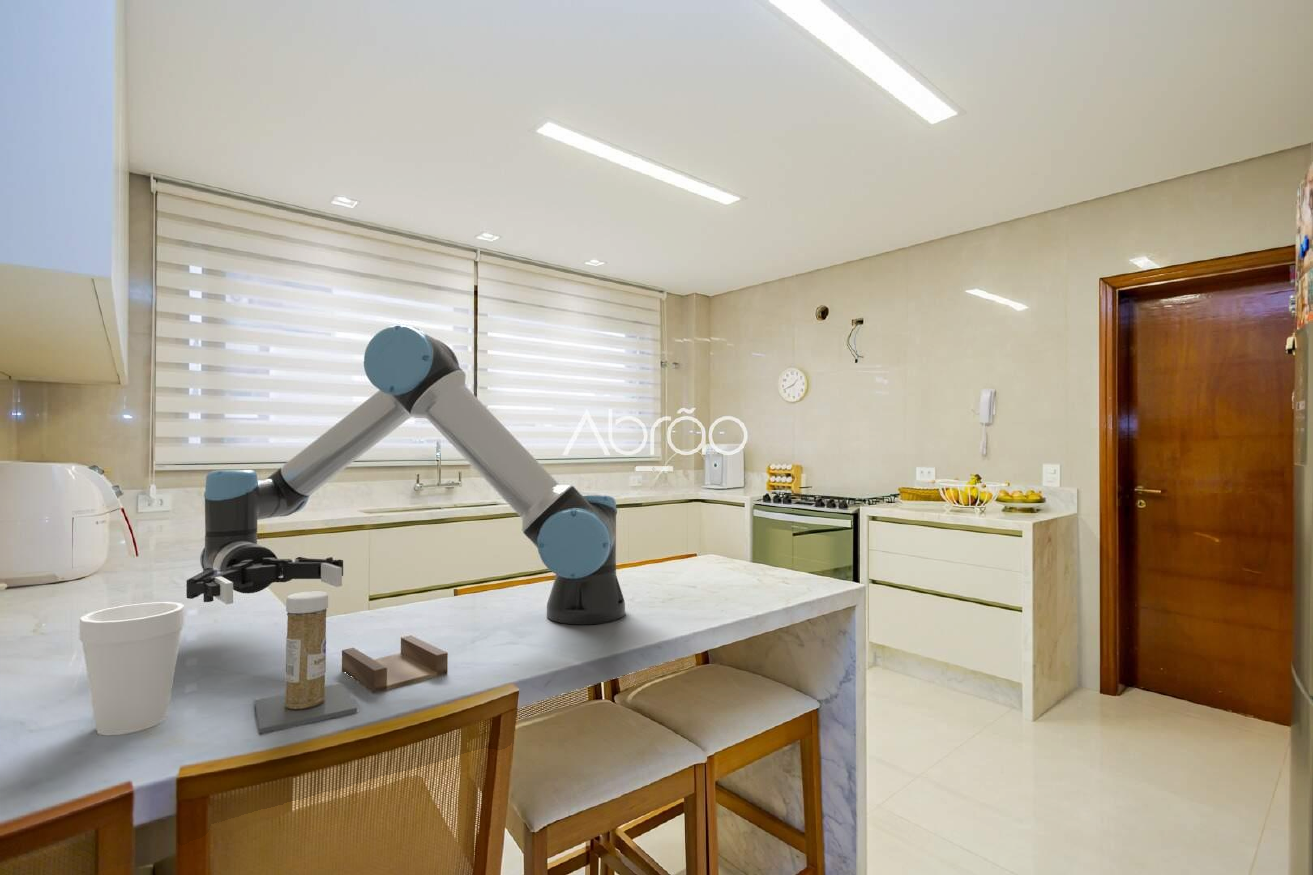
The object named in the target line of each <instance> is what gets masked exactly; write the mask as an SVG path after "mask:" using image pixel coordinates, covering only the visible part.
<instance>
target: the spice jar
mask: <svg viewBox="0 0 1313 875" xmlns="http://www.w3.org/2000/svg"><path fill="white" fill-rule="evenodd" d="M285 604H286V606H285V611H286V616H287V619H286V620H287V621H286V623H287V628H286V629H287V630H286V631H287V632H286V640H285V642H286V643H285V674H284V675H285V676H284V677H285V694H286V699H285V702H284V705H285V706H286V707H287V708H290V709H306V708H310V707H313V706H315V705H318V704H320V703H322V702H323V701H324V700H325V698H326V696H325V693H324V692H325V686H326V684H325V682H326V681H325V680H326V678H325V676H326V675H325V674H326V671H327V670H326V669H327V668H326V662H327V661H326V660H327V658H326V657H327V636H326V632H327V610H328V608H329V594H328V592H325V591H321V590H320V591H319V590H317V591H315V590H313V591H310V590H309V591H302V592H295V593H291V594H290V595H288V596H287V597H286V603H285Z"/></svg>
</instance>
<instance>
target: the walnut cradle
mask: <svg viewBox="0 0 1313 875" xmlns="http://www.w3.org/2000/svg"><path fill="white" fill-rule="evenodd" d="M448 656H449V654H448V652H447V651H444V650H442V649H441V648H438V647H437V646H436V645H432V644H431V643H428V642H426V641H424V640H422V639H419V638H417V637H415V636H413V635H407V636H402V637H400V653H397V654H396V653H395V654H391V655H386V656H384V657H378V658H372V657H370V656H368V655H366V654H365V653H363V652H361V651H360V650H358V649H357V648H355V647H350V648H346V649H342V650H341V671H342V672H343V673H344V672H346V675H347V674H348V675H349V676H348V675H347V676H348V677H350V676H352V677H353V678H354V679H355V680H354V679H353V678H352V679H353V680H354V681H355V682H357V681H358V682H359V683H358V682H357V683H358V684H360V685H362V686H363V687H364V686H365V688H366V689H367V690H368V691H370V690H371V691H370V692H371V693H373V694H374V693H375V694H377V693H381V692H384V691H385V690H386V691H389V690H392V689H396V688H400V686H401V687H403V686H408V685H411V684H414V683H418V682H422V681H427V680H429V679H430V680H431V679H434V678H437V677H441V676H444V675H448V673H449V672H448V669H449V668H448V660H449V659H448ZM388 689H389V690H388ZM386 691H385V692H386Z"/></svg>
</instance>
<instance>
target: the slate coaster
mask: <svg viewBox="0 0 1313 875" xmlns="http://www.w3.org/2000/svg"><path fill="white" fill-rule="evenodd" d="M324 693H325V696H326V698H325V700H324V701H323V702H322V703H320V704H318V705H315V706H313V707H310V708H306V709H290V708H287V707H286V706H285V705H284V702H285V699H286V693H283V694H280V695H279V694H278V695H274V696H273V695H272V696H268V697H263V698H258V699H254V705H255V706H254V707H255V713H256V719H257V724H258V730H259V735H261V734H267V733H270V732H276V731H280V730H286V729H289V728H292V727H293V728H294V727H299V726H303V725H306V724H307V725H308V724H312V723H315V722H316V723H317V722H320V721H321V722H322V721H325V719H326V720H330V719H334V718H339V717H343V716H348V715H353V714H357V713H358V707H357V705H356V704H355V702H354V700H353V697H351V695H350V693H349V691H348V689H347V687H346V686H345V684H344V682H341V683H335V684H330V685H325V692H324Z"/></svg>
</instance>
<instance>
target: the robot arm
mask: <svg viewBox="0 0 1313 875" xmlns="http://www.w3.org/2000/svg"><path fill="white" fill-rule="evenodd" d="M363 367H364V368H363V369H364V372H365V375H366V377H367V379H368V380H369V382H370V383H371V385H373V386H374V387H375V388H376V389H378V391H377V392H375V393H374V394H373V395H371V396H370V397H368V398H367V399H366V400H365V401H363V403H361V404H360V405H359V406H357V407H356V408H355V409H353V410H352V411H350V412H349V413H348V414H347V415H346V416H345V417H344V418H342V419H341V420H339V421H338V423H336V424H334V425H332V427H330V429H328V430H327V431H325V432H324V433H323V434H321V435H320V436H319V437H317V438H316V439H314V441H313V442H311V443H310V444H309V445H308V446H306V447H305V448H304V449H302V450H300V452H298V453H297V454H296V455H295V456H293V457H292V458H291V459H290V460H288V461H287V462H285V463H284V464H283V465H282V466H281V467H279V469H277V470H276V471H274V472H273V473H272V474H271V475H269V476H268V477H266V478H258V475H257V472H256V471H255V470H254V469H226V470H213V471H210V472H208V473H207V475H206V477H205V490H204V494H203V497H204V523H205V524H204V526H205V527H204V532H205V533H204V534H205V535H204V547H203V549H202V551H201V553H200V556H199V561H200V563H199V564H200V565H201V568H202V572H199V573H198V574H196V575H193V576H192V577H190V578H188V579H186V584H185V585H186V592H185V593H186V599H188V600H189V599H191V600H192V599H195V598H198V597H199V596H202V595H203V603H211V602H214V598H216V599H217V600H219V601H221V602H222V603H223V604H225V605H230V604H234V591H235V592H237V593H240V594H256V593H258V592H261V591H264V590H265V589H266V588H268V587H270V585H272V584H273V583H287V582H290V581H292V580H320V581H321V582H322V583H325V584H328V585H330V586H334V587H336V588H338V587H339V588H340V587H342V586H343V576H344V560H343V559H334V557H333V556H332V557H330V556H329V557H327V558H326V559H325V558H306V557H303V556H297V557H296V558H295V559H294V561H293V559H291V558H278V557H277V555H276V554H275V553H274V551H272V550H271V549H269V548H268V547H265V546H263V545H260V544H258V521H260V520H265V519H272V518H276V517H277V518H278V517H287V516H291V515H292V514H295V513H297V512H300V511H301V510H303V509H304V507H305V506H307V503H308V501H309V499H310V496H311V495H313V494H314V493H315V492H316V491H318V490H319V489H320V488H322V487H323V486H325V485H326V484H327V483H328V482H330V481H331V480H332V479H333V478H335V477H336V476H337V475H338V474H340V473H341V472H342V471H343V470H345V469H346V468H347V467H349V466H350V465H351V464H352V463H354V462H355V461H356V460H358V459H359V458H361V456H363V455H364V454H365V453H366V452H368V451H369V450H371V449H372V448H373V447H374V446H376V444H378V443H380V442H381V441H382V440H383V439H384V438H386V437H387V436H389V435H390V434H391V433H392V432H394V431H395V430H396V429H397V428H399V427H400V426H401V425H403V424H404V423H405V422H406V421H408V420H409V419H411V418H412V417H413V418H415V419H426V420H428V421H429V422H430V423H431V425H433V427H435V429H436V430H437V431H438V432H439V433H440V434H441V435H442V436H443V437H444V438H445V439H446V440H447V442H449V443H450V444H451V445H452V446H453V447H454V448H455V450H456V451H457V452H458V453H459V454H460V455H461V456H462V457H463V459H465V460H466V461H467V462H468V463H469V464H470V465H471V466H472V468H474V469H475V471H476V472H477V473H478V474H479V475H480V476H482V478H483V479H484V480H485V481H486V482H487V483H488V484H489V485H490V486H491V487H492V488H493V489H494V490H495V492H497V494H498V495H499V496H500V497H501V498H502V499H503V500H504V501H505V502H506V503H507V504H508V505H509V506H510V508H512V510H514V512H515V513H516V514H517V515H518V516H519V517H520V518H521V521H522V524H521V525H522V527H521V531H522V533H523V534H524V535H525V537H527V538H528V539H529V541H530V542H532V544H533V545H534V546H535V547H536V548H537V553H538V554H539V558H540V559H541V562H542V563H543V564H544V566H545V567H546V568H547V569H548V570H549V571H551V573H553V574H555V579H554V581H553V584H552V588H551V589H550V593H549V597H548V600H547V603H546V617H547V619H549V620H550V621H553V622H557V623H561V624H567V625H568V624H569V625H595V624H604V623H609V622H613V621H617V620H619V619H622V618H623V617H624V616H625V615H626V600H625V598H624V595H623V591H622V588H621V586H620V582H619V579H618V575H617V514H618V508H617V502H616V499H615V498H614V497H612V496H610V495H599V494H598V495H597V494H581V493H580V492H579V491H578V490H577V489H576V487H575V486H573V484H561V483H559V482H558V481H557V480H556V479H555V478H554V476H552V475H551V473H549V472H548V471H547V469H545V468H544V467H543V466H542V465H541V463H540V462H539V461H537V459H536V458H535V457H534V456H533V455H532V454H531V453H530V452H529V450H527V448H525V447H524V446H523V445H522V444H521V443H520V441H518V440H517V438H516V437H515V436H514V435H513V434H512V433H511V432H510V431H509V429H507V428H506V427H505V425H503V423H501V421H499V419H498V418H496V416H494V414H493V413H492V412H491V411H490V410H489V409H488V408H487V407H486V406H485V405H484V404H483V403H482V402H481V401H480V400H479V399H478V397H477V396H475V394H473V392H472V391H471V390H470V389H469V388H468V387H467V385H466V376H467V375H466V373H465V371H464V370H463V369H462V368H461V367H460V363H459V360H458V358H457V356H456V354H455V352H454V350H452V349H451V348H450V346H448V345H447V344H445V343H444V342H442V341H441V340H438V339H436V338H434V337H432V336H430V335H428V334H426V333H425V332H424V331H422V330H420V329H419V328H416V327H413V326H407V325H401V324H400V325H398V324H397V325H393V326H389V327H386V328H384V329H382V330H379V331H378V332H377V333H375V335H374V336H373V337H371V339H370V341H369V342H368V344H367V346H366V348H365V351H364V356H363Z"/></svg>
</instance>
